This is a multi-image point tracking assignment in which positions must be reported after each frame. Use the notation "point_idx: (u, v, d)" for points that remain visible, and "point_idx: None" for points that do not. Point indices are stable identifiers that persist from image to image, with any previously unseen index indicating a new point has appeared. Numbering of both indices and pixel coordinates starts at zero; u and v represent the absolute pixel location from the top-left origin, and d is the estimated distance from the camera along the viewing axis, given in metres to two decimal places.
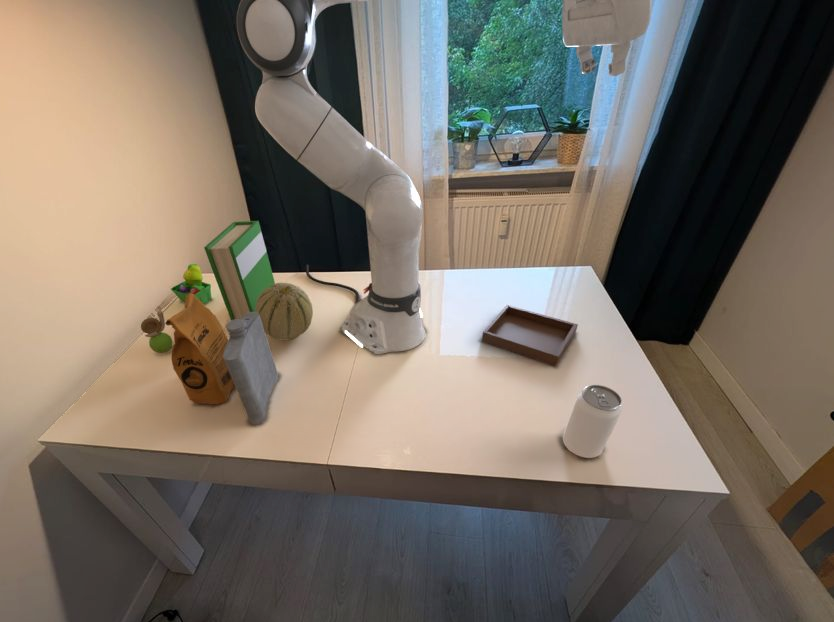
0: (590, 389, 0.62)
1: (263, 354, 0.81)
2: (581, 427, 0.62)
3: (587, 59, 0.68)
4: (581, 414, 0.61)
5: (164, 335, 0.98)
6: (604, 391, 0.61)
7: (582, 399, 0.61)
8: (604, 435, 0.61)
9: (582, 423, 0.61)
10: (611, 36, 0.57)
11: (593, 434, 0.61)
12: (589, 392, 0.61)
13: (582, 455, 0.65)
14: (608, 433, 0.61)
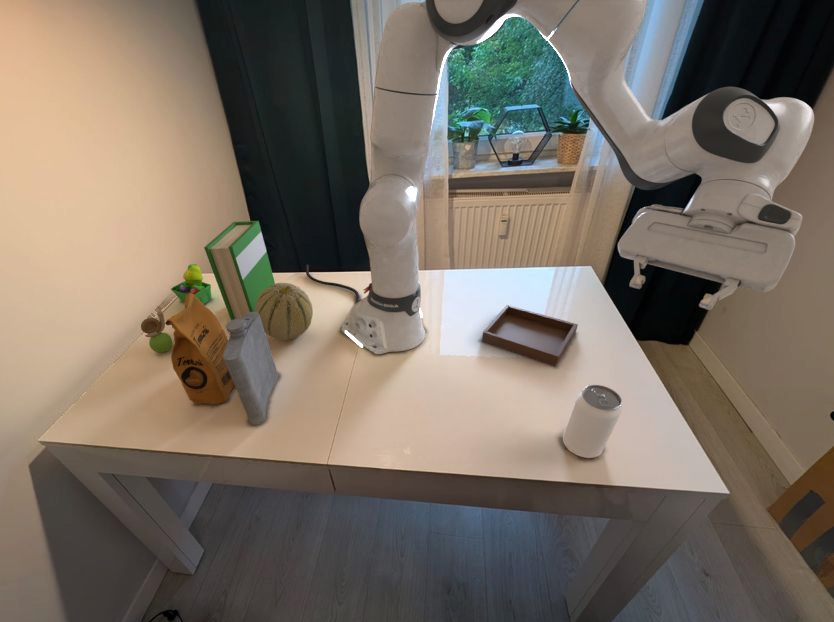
0: (590, 389, 0.62)
1: (263, 354, 0.81)
2: (581, 427, 0.62)
3: None
4: (581, 414, 0.61)
5: (164, 335, 0.98)
6: (604, 391, 0.61)
7: (582, 399, 0.61)
8: (604, 435, 0.61)
9: (582, 423, 0.61)
10: (749, 271, 0.52)
11: (593, 434, 0.61)
12: (589, 392, 0.62)
13: (582, 455, 0.65)
14: (608, 433, 0.61)
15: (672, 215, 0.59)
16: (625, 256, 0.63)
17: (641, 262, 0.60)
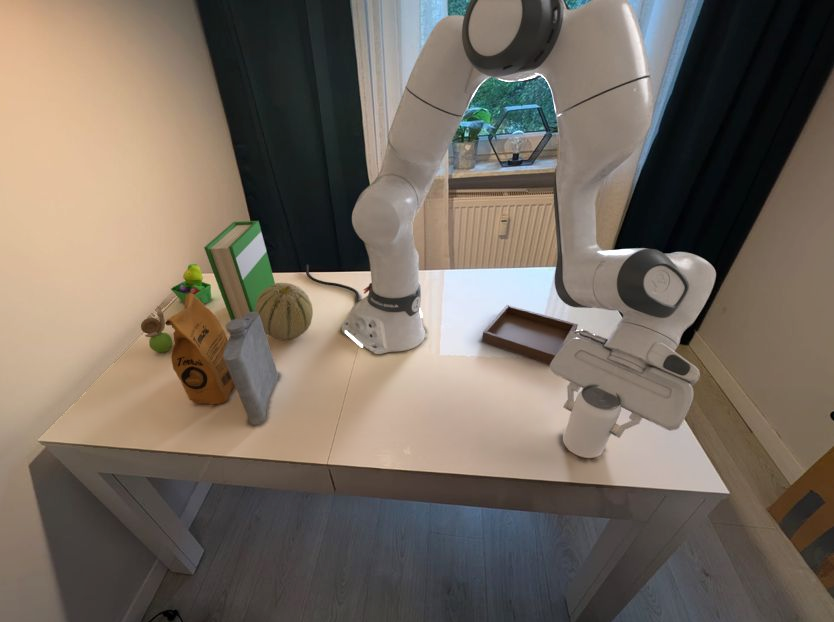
0: (589, 389, 0.62)
1: (263, 354, 0.81)
2: (581, 426, 0.62)
3: (572, 399, 0.66)
4: (581, 414, 0.61)
5: (164, 335, 0.98)
6: (603, 391, 0.61)
7: (581, 399, 0.61)
8: (604, 435, 0.61)
9: (582, 423, 0.61)
10: (656, 413, 0.57)
11: (593, 434, 0.61)
12: (588, 392, 0.62)
13: (582, 455, 0.65)
14: (608, 433, 0.61)
15: (595, 346, 0.64)
16: None
17: (573, 388, 0.65)
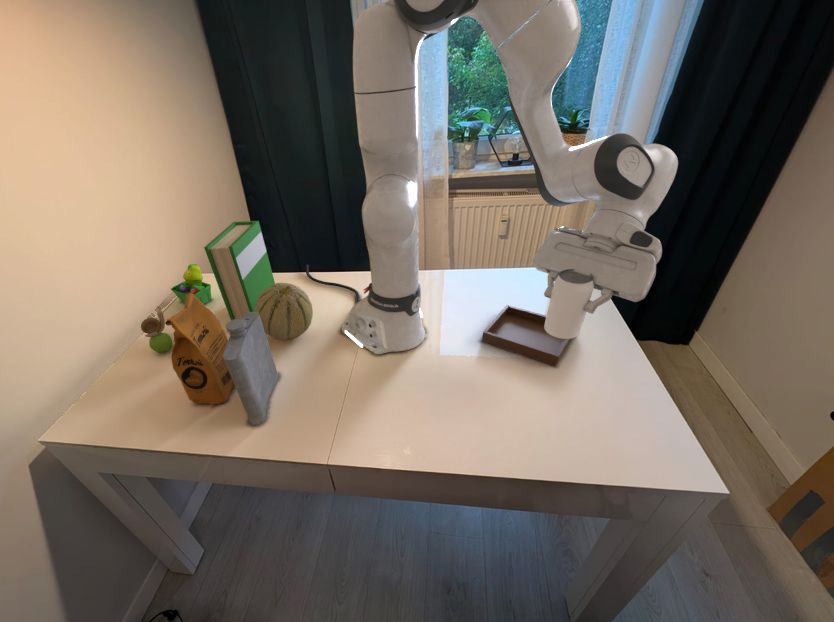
0: (566, 272, 0.69)
1: (263, 354, 0.81)
2: (559, 305, 0.69)
3: (552, 287, 0.73)
4: (558, 292, 0.68)
5: (164, 335, 0.98)
6: (578, 273, 0.69)
7: (559, 279, 0.68)
8: (579, 311, 0.68)
9: (559, 301, 0.69)
10: (623, 284, 0.64)
11: (569, 311, 0.68)
12: (565, 274, 0.69)
13: (561, 336, 0.72)
14: (582, 310, 0.68)
15: (572, 237, 0.71)
16: (539, 269, 0.76)
17: (553, 276, 0.72)
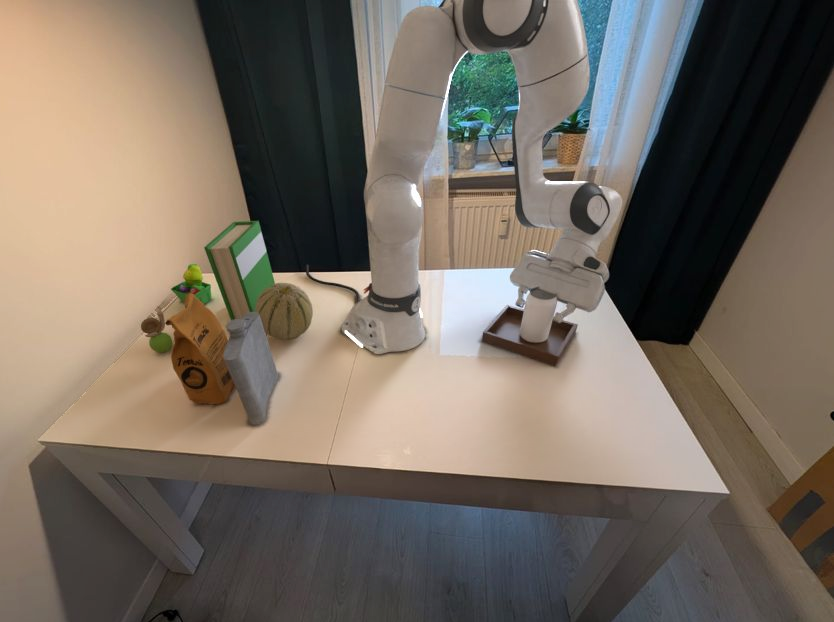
0: (536, 289, 0.86)
1: (263, 354, 0.81)
2: (530, 316, 0.86)
3: (522, 298, 0.90)
4: (529, 306, 0.85)
5: (164, 335, 0.98)
6: None
7: (529, 295, 0.85)
8: (545, 321, 0.85)
9: (530, 313, 0.86)
10: (578, 298, 0.81)
11: (537, 321, 0.85)
12: (535, 291, 0.86)
13: (532, 340, 0.89)
14: (548, 320, 0.85)
15: (541, 259, 0.88)
16: (515, 284, 0.93)
17: (522, 290, 0.90)
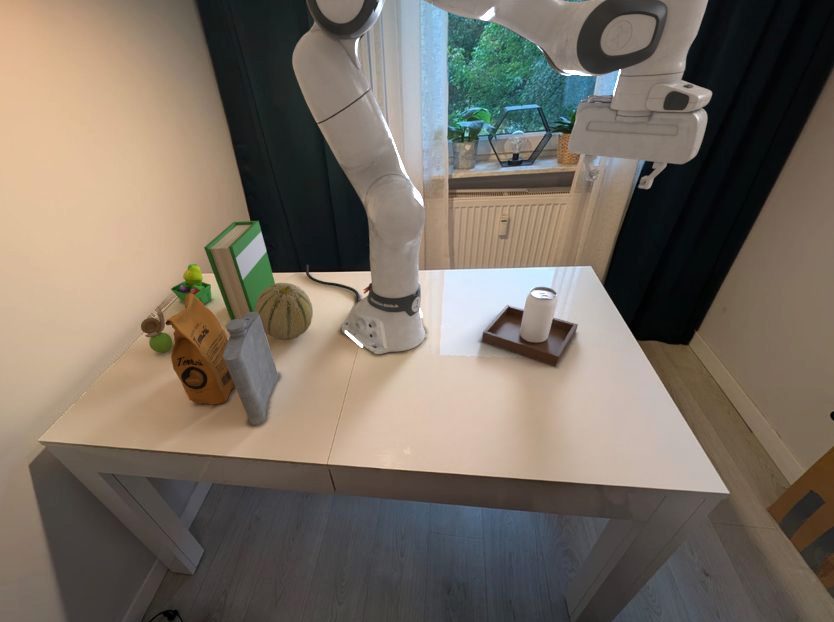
0: (536, 289, 0.86)
1: (263, 354, 0.81)
2: (530, 316, 0.86)
3: (592, 168, 0.72)
4: (529, 306, 0.85)
5: (164, 335, 0.98)
6: (545, 290, 0.86)
7: (529, 295, 0.85)
8: (545, 321, 0.85)
9: (530, 313, 0.86)
10: (667, 154, 0.62)
11: (537, 321, 0.85)
12: (535, 291, 0.86)
13: (532, 340, 0.89)
14: (548, 320, 0.85)
15: (602, 111, 0.66)
16: None
17: (589, 160, 0.71)
